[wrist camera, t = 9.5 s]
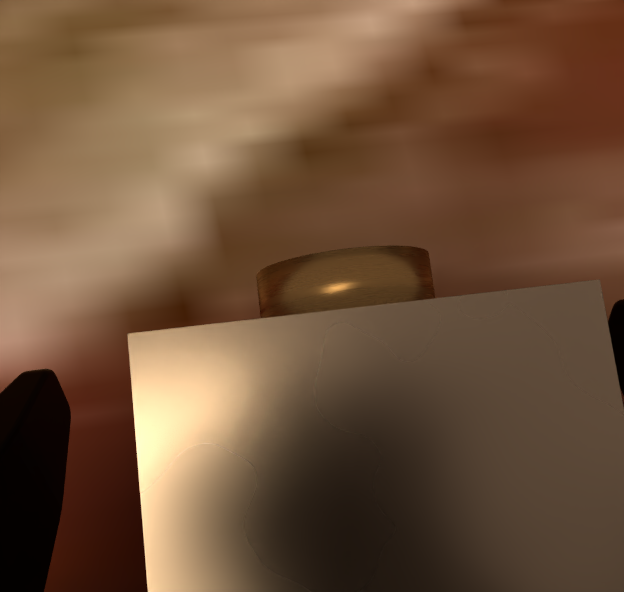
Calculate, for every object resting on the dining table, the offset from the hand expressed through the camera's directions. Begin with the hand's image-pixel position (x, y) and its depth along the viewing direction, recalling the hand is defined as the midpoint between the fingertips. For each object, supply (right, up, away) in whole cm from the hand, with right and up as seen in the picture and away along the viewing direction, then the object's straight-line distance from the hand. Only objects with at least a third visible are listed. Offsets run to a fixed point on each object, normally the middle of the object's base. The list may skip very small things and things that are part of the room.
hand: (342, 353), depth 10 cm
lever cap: (0, -2, +6) cm, 7 cm away
